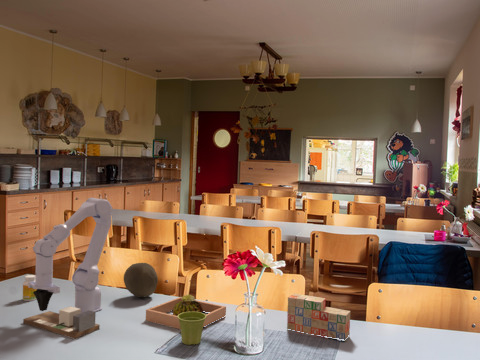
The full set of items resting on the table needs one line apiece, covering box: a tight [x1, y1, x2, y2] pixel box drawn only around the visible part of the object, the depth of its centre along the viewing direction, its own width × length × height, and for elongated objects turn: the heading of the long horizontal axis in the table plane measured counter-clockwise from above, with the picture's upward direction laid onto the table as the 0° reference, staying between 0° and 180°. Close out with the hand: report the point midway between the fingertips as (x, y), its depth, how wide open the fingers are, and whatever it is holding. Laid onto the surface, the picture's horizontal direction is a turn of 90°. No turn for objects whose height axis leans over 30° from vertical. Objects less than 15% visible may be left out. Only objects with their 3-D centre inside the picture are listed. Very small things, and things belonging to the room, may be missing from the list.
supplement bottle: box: [22, 274, 37, 302], centre depth 195 cm, size 5×5×10 cm
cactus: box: [170, 294, 206, 316], centre depth 175 cm, size 17×16×10 cm
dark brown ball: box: [123, 262, 159, 298], centre depth 203 cm, size 14×14×15 cm
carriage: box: [56, 306, 81, 326], centre depth 161 cm, size 8×5×5 cm, turn 150°
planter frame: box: [145, 296, 227, 330], centre depth 178 cm, size 21×22×4 cm
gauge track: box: [22, 310, 100, 339], centre depth 165 cm, size 11×26×6 cm, turn 60°
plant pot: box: [178, 312, 206, 346], centre depth 154 cm, size 9×9×9 cm
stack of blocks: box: [286, 293, 351, 340], centre depth 167 cm, size 21×6×12 cm, turn 62°
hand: (43, 310), depth 170 cm, fingers closed
